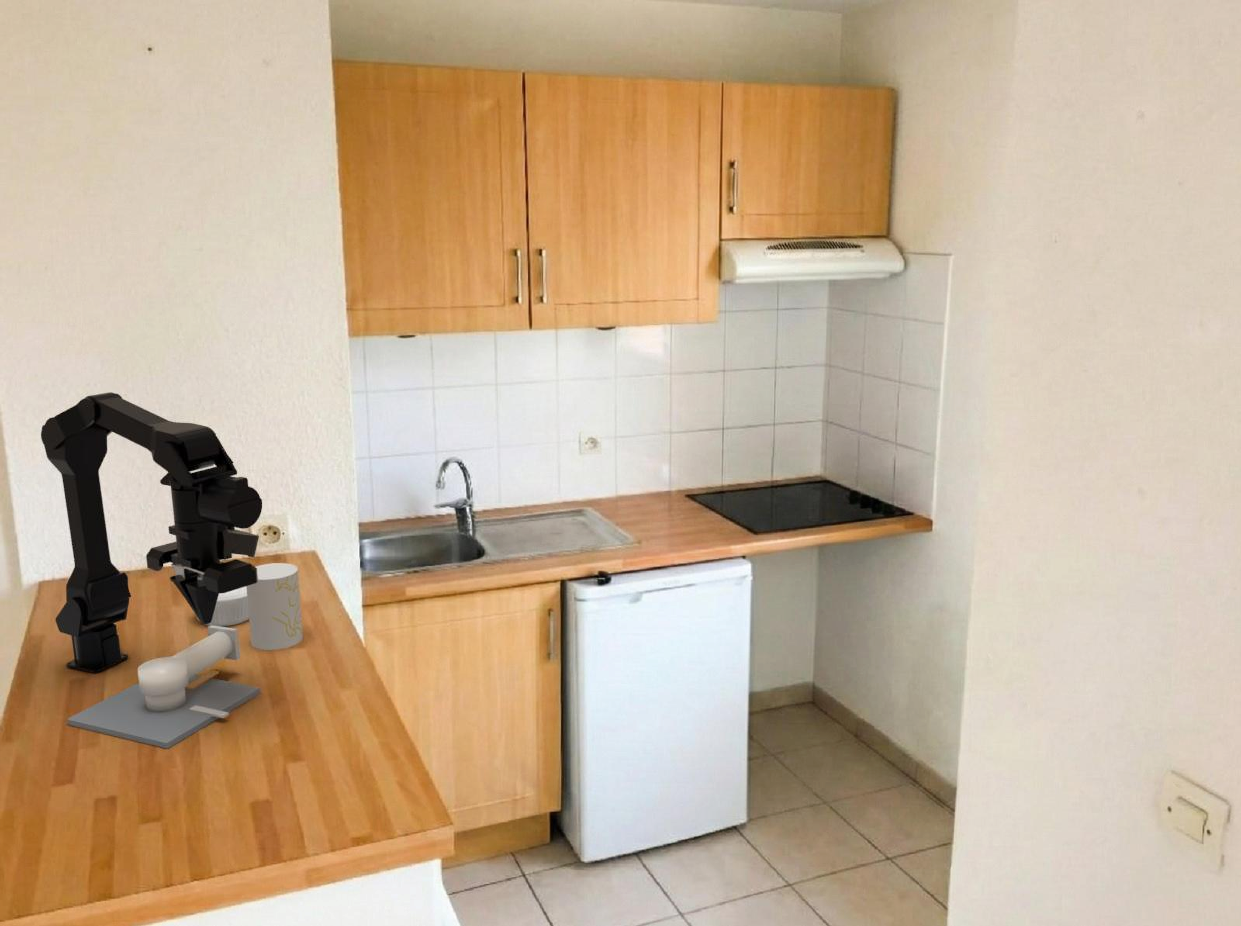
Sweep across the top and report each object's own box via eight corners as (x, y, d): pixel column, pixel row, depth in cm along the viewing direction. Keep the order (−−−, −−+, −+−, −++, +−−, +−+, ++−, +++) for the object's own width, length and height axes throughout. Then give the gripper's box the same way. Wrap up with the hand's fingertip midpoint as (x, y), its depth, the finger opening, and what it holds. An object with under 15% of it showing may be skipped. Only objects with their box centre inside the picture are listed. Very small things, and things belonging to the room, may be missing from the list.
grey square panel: (67, 724, 149) (64, 703, 148) (175, 668, 166) (173, 649, 166) (177, 751, 141) (175, 728, 141) (278, 690, 159) (277, 669, 158)
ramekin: (274, 613, 189) (272, 585, 188) (221, 634, 180) (218, 605, 179) (232, 601, 195) (230, 574, 194) (178, 621, 186) (175, 592, 185)
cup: (287, 651, 173) (282, 581, 170) (241, 647, 174) (235, 577, 172) (311, 632, 181) (306, 564, 178) (267, 629, 182) (261, 561, 179)
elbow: (167, 705, 149) (164, 673, 148) (130, 699, 151) (126, 667, 150) (244, 659, 164) (241, 629, 163) (209, 653, 166) (206, 624, 165)
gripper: (286, 516, 150) (294, 620, 154) (209, 495, 161) (219, 593, 165) (215, 535, 142) (225, 645, 145) (139, 511, 153) (150, 615, 156)
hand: (206, 623), depth 153 cm, fingers closed
